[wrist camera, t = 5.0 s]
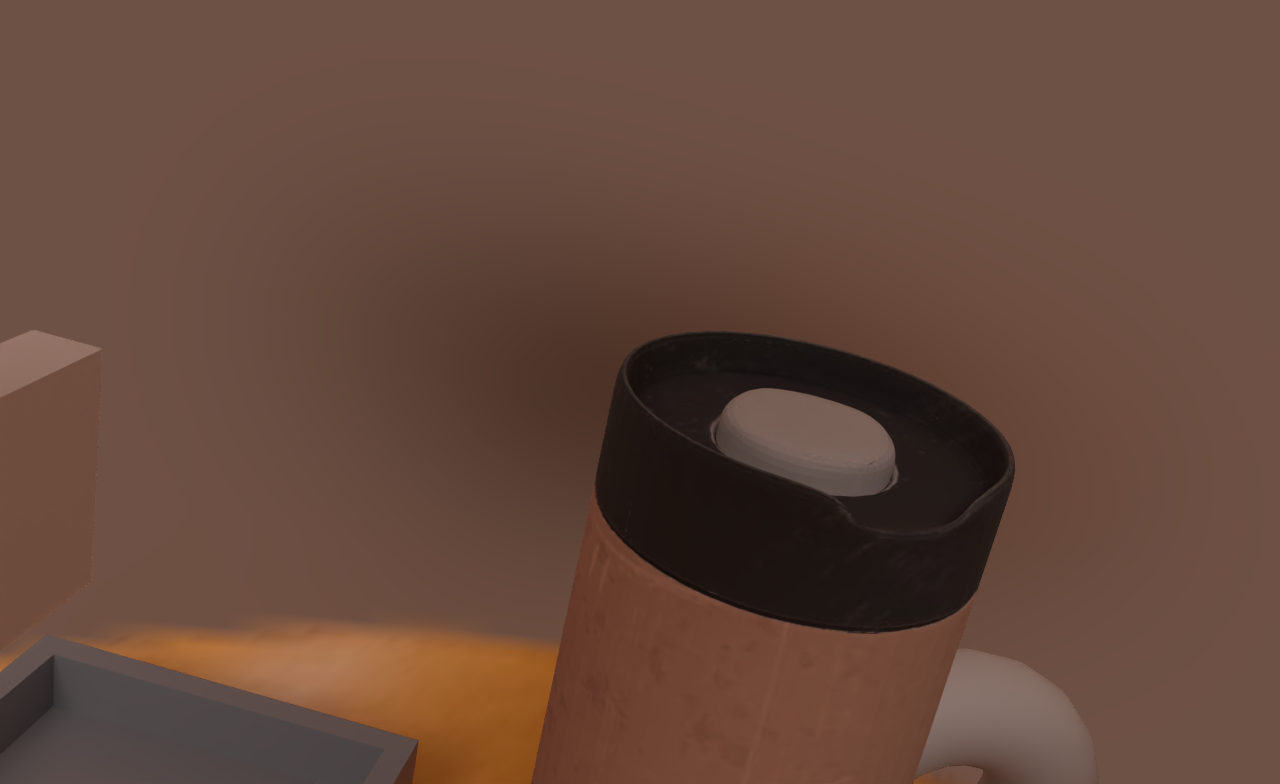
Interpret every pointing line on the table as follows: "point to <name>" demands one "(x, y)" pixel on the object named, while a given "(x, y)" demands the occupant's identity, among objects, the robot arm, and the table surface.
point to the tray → (172, 728)
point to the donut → (1008, 725)
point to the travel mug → (770, 568)
